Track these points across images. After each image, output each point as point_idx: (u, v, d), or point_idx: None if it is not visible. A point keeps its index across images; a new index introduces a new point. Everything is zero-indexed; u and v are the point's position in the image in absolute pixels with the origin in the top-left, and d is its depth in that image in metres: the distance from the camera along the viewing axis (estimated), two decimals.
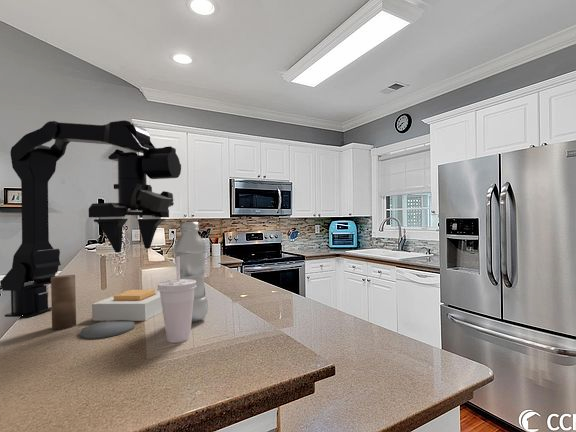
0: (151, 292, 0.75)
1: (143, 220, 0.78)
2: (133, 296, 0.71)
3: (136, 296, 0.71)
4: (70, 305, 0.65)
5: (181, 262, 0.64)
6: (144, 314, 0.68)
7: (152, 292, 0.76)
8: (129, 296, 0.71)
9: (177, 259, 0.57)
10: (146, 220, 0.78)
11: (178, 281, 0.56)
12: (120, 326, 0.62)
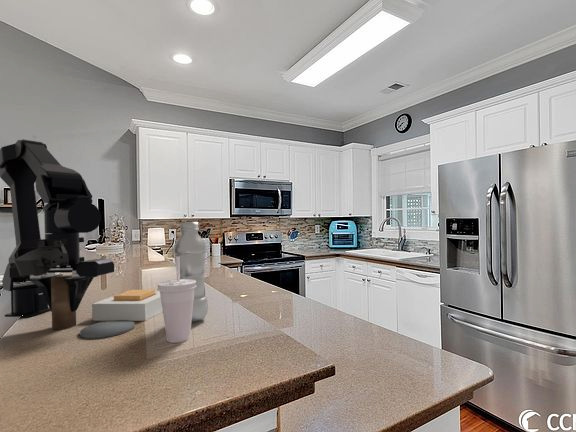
0: (151, 292, 0.75)
1: None
2: (133, 296, 0.71)
3: (136, 296, 0.71)
4: None
5: (181, 262, 0.64)
6: (144, 314, 0.68)
7: (152, 292, 0.76)
8: (129, 296, 0.71)
9: (177, 259, 0.57)
10: None
11: (178, 281, 0.56)
12: (120, 326, 0.62)
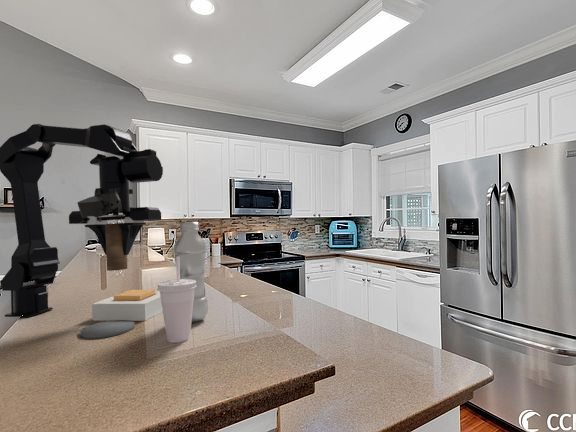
0: (151, 292, 0.75)
1: None
2: (133, 296, 0.71)
3: (136, 296, 0.71)
4: (122, 249, 0.71)
5: (181, 262, 0.64)
6: (144, 314, 0.68)
7: (152, 292, 0.76)
8: (129, 296, 0.71)
9: (177, 259, 0.57)
10: None
11: (178, 281, 0.56)
12: (120, 326, 0.62)
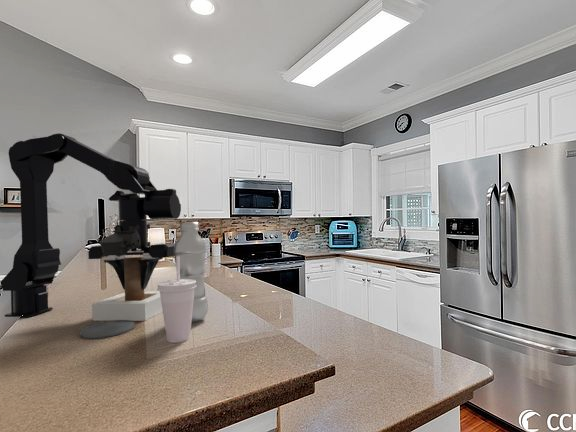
0: None
1: None
2: None
3: None
4: (140, 283, 0.74)
5: (181, 262, 0.64)
6: (144, 314, 0.68)
7: None
8: None
9: (177, 259, 0.57)
10: None
11: (178, 281, 0.56)
12: (120, 326, 0.62)
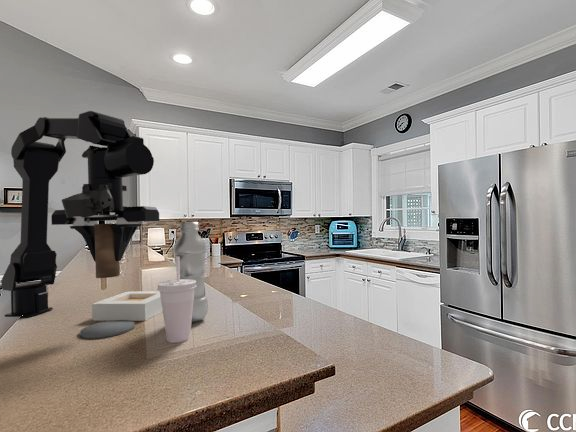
0: None
1: None
2: None
3: None
4: (114, 254, 0.62)
5: (181, 262, 0.64)
6: (144, 314, 0.68)
7: None
8: None
9: (177, 259, 0.57)
10: None
11: (178, 281, 0.56)
12: (120, 326, 0.62)
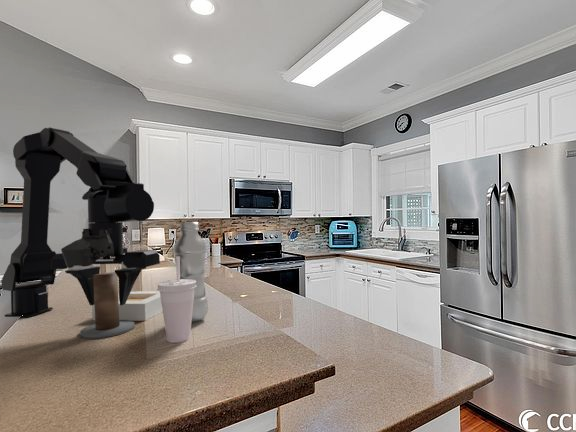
0: None
1: None
2: None
3: None
4: (114, 304, 0.62)
5: (181, 262, 0.64)
6: (144, 314, 0.68)
7: None
8: None
9: (177, 259, 0.57)
10: None
11: (178, 281, 0.56)
12: (120, 326, 0.62)
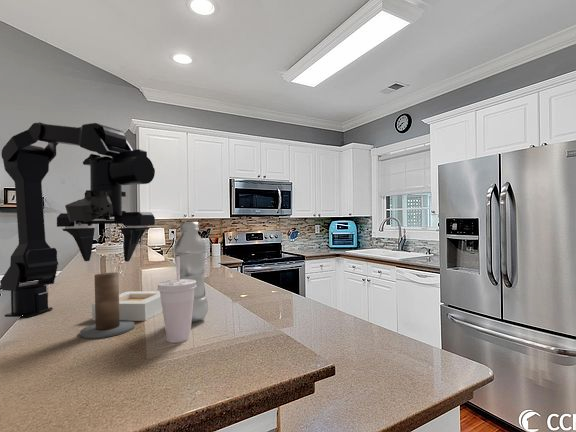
0: None
1: None
2: None
3: None
4: (114, 305, 0.61)
5: (181, 262, 0.64)
6: (144, 314, 0.68)
7: None
8: None
9: (177, 259, 0.57)
10: None
11: (178, 281, 0.56)
12: (120, 326, 0.62)
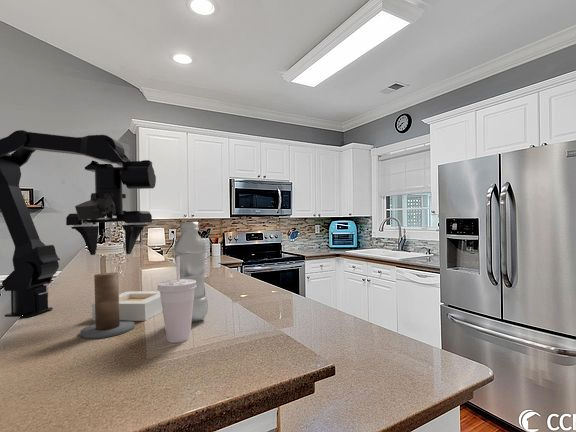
0: None
1: None
2: None
3: None
4: (114, 305, 0.61)
5: (181, 262, 0.64)
6: (144, 314, 0.68)
7: None
8: None
9: (177, 259, 0.57)
10: None
11: (178, 281, 0.56)
12: (120, 326, 0.62)
